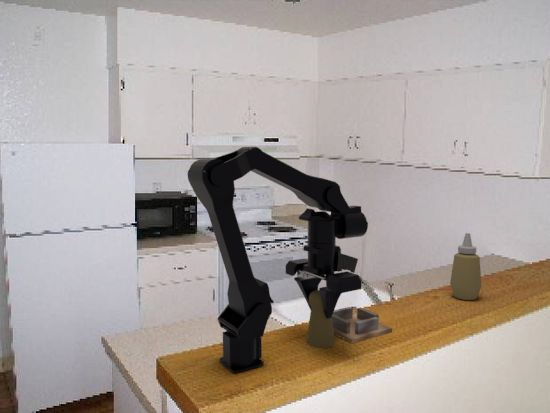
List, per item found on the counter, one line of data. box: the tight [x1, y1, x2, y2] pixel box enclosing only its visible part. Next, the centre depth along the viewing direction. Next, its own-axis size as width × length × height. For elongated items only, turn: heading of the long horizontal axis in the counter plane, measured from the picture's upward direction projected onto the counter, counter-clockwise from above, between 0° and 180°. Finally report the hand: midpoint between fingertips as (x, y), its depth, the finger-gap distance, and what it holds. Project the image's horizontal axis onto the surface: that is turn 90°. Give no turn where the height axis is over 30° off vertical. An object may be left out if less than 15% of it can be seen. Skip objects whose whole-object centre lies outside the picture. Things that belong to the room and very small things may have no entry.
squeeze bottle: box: [449, 232, 483, 301], centre depth 127 cm, size 8×8×18 cm
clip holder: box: [332, 306, 393, 344], centre depth 105 cm, size 12×12×3 cm
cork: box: [306, 289, 336, 349], centre depth 97 cm, size 6×6×11 cm
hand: (320, 314), depth 97 cm, fingers closed on cork, 5 cm apart
